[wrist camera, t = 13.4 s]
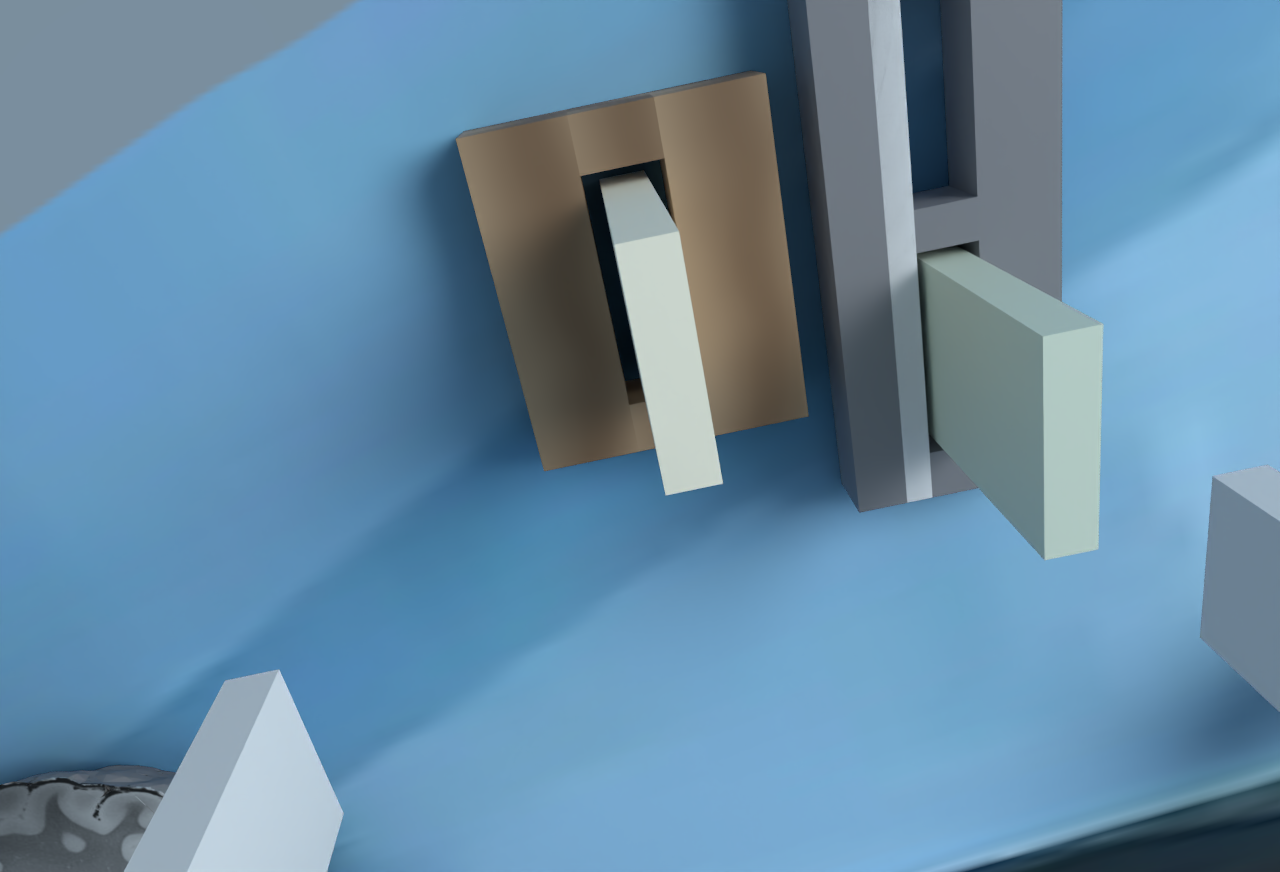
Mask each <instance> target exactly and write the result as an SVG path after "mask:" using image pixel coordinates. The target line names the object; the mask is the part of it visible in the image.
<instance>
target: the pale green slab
mask: <svg viewBox="0 0 1280 872" xmlns="http://www.w3.org/2000/svg"><path fill="white" fill-rule="evenodd" d="M599 181H600V186H601V191H602V196H603V200H604V205H605V210H606V215H607V220H608V225H609V230H610V234H611V239H612V244H613V249H614V254H615V259H616V263H617V268H618V273H619V278H620V283H621V288H622V292H623V297H624V302H625V307H626V312H627V317H628V322H629V326H630V331H631V336H632V341H633V346H634V351H635V355H636V360H637V365H638V370H639V374H640V379H641V384H642V388H643V393H644V397H645V402H646V407H647V411H648V416H649V421H650V425H651V430H652V434H653V439H654V444H655V448H656V453H657V458H658V462H659V467H660V471H661V476H662V481H663V485H664V490H665V495H671V494H675V493H680V492H685V491H690V490H695V489H700V488H704V487H709V486H714V485H719V484H723V480H722V475H721V469H720V463H719V458H718V452H717V446H716V440H715V435H714V429H713V423H712V417H711V412H710V406H709V400H708V394H707V389H706V383H705V377H704V372H703V366H702V360H701V354H700V349H699V343H698V337H697V331H696V326H695V320H694V314H693V308H692V303H691V297H690V291H689V286H688V280H687V274H686V268H685V263H684V257H683V251H682V245H681V240H680V234H679V230H678V229H677V227H676V225H675V223H674V222H673V220H672V218H671V217H670V215H669V213H668V211H667V210H666V208H665V206H664V204H663V203H662V201H661V199H660V198H659V196H658V194H657V192H656V191H655V189H654V187H653V185H652V184H651V182H650V180H649V179H648V177H647V175H646V173H645V172H644V170H641V171H636V172H631V173H627V174H622V175H617V176H612V177H608V178H603V179H599Z"/></svg>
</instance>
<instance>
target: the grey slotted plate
mask: <svg viewBox="0 0 1280 872" xmlns="http://www.w3.org/2000/svg"><path fill="white" fill-rule="evenodd" d="M787 3H788V11H789V20H790V29H791V38H792V47H793V56H794V65H795V74H796V82H797V91H798V100H799V109H800V118H801V127H802V136H803V145H804V154H805V162H806V171H807V180H808V189H809V198H810V207H811V216H812V225H813V233H814V242H815V251H816V260H817V269H818V278H819V287H820V296H821V305H822V313H823V322H824V331H825V340H826V349H827V358H828V367H829V376H830V384H831V393H832V402H833V411H834V420H835V429H836V438H837V447H838V456H839V464H840V473H841V482H842V485H843V487H844V488H845V490H846V491H847V493H848V495H849V496H850V498H851V500H852V501H853V503H854V504H855V506H856V508H857V509H858V511H859V513H860V512H864V511H869V510H874V509H879V508H884V507H889V506H894V505H898V504H903V503H908V502H913V501H918V500H923V499H927V498H932V497H937V496H942V495H947V494H952V493H957V492H961V491H966V490H971V489H976V488H978V487H977V486H976V485H975V484H974V482H973V481H972V480H971V479H970V478H969V477H968V476H967V475H966V474H965V473H964V472H963V470H962V469H961V468H960V467H959V466H958V465H957V464H956V463H955V462H954V461H953V459H952V458H951V457H950V456H949V455H948V454H947V453H946V452H945V451H944V450H943V449H942V447H941V446H940V445H939V444H938V443H937V442H936V441H935V440H934V439H933V438H932V436H931V435H930V434H929V433H928V421H927V405H926V390H925V375H924V360H923V344H922V329H921V314H920V299H919V284H918V268H917V253H921V252H926V251H931V250H935V249H940V248H945V247H950V246H954V245H956V246H958V247H960V248H962V249H964V250H966V251H967V252H969V253H971V254H973V255H975V256H977V257H979V258H981V259H982V260H984V261H986V262H988V263H990V264H992V265H994V266H996V267H997V268H999V269H1001V270H1003V271H1005V272H1007V273H1009V274H1010V275H1012V276H1014V277H1016V278H1018V279H1020V280H1022V281H1024V282H1025V283H1027V284H1029V285H1031V286H1033V287H1035V288H1037V289H1039V290H1040V291H1042V292H1044V293H1046V294H1048V295H1050V296H1052V297H1053V298H1055V299H1057V300H1059V301H1061V302H1062V0H940V12H941V33H942V53H943V74H944V94H945V114H946V135H947V155H948V176H949V186H945V187H941V188H936V189H931V190H926V191H922V192H917V193H913V192H912V177H911V162H910V146H909V131H908V116H907V101H906V85H905V70H904V55H903V40H902V24H901V9H900V0H787Z"/></svg>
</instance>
